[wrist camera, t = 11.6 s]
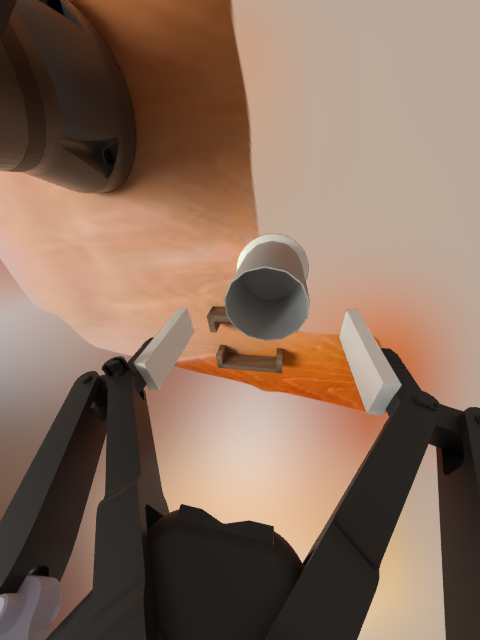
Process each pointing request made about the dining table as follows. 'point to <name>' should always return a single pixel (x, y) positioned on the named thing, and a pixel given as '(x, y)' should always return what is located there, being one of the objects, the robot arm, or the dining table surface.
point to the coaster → (277, 238)
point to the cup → (268, 293)
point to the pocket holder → (241, 361)
